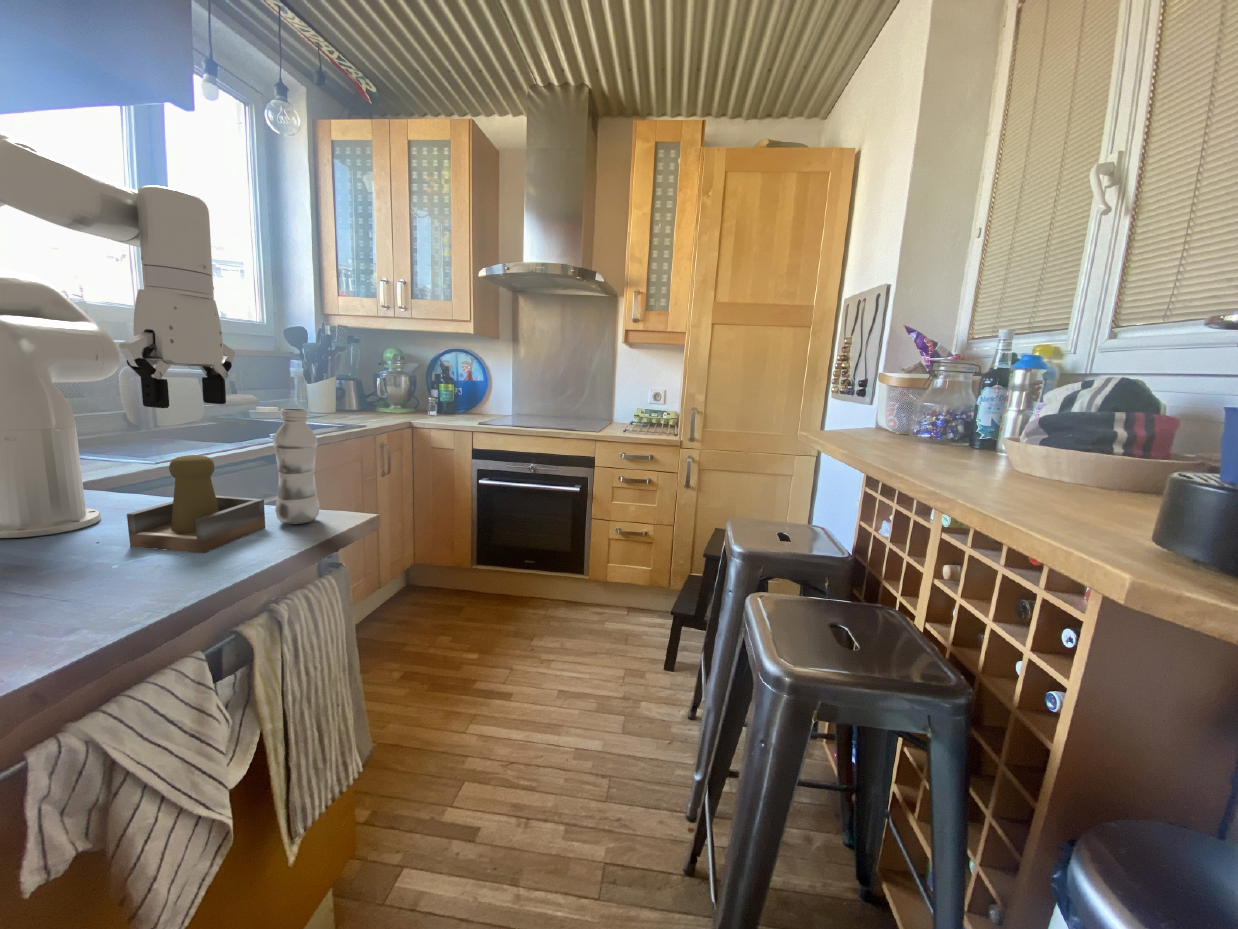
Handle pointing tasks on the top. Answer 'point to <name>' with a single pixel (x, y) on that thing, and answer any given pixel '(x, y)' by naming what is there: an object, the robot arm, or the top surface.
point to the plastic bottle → (296, 468)
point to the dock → (197, 526)
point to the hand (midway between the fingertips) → (187, 405)
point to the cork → (192, 491)
